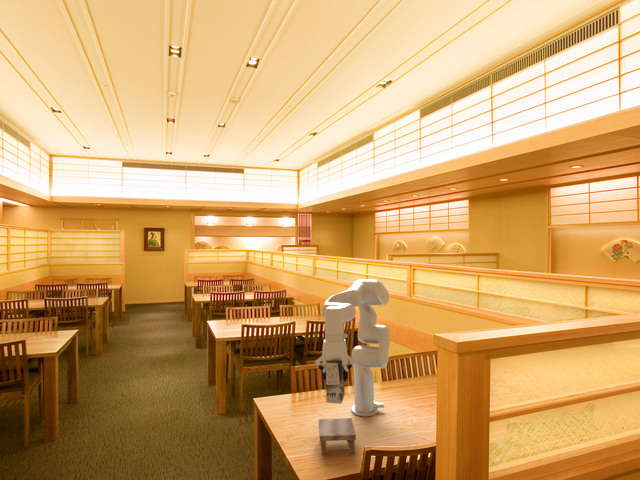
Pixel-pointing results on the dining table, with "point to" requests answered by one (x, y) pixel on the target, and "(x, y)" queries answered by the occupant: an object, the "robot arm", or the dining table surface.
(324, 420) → the stool
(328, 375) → the coffee box
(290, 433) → the dining table surface
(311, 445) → the dining table surface
